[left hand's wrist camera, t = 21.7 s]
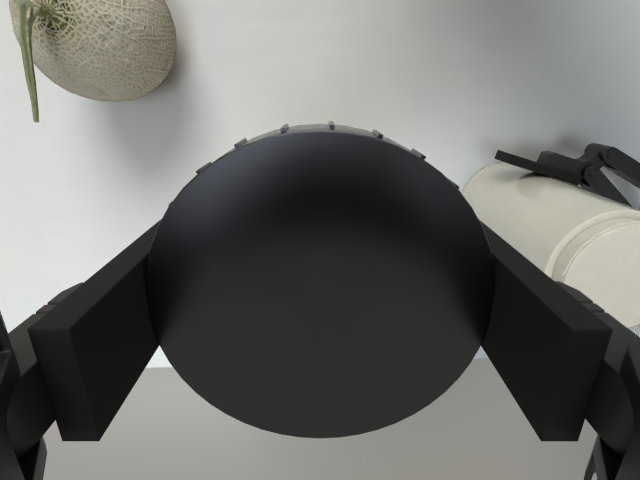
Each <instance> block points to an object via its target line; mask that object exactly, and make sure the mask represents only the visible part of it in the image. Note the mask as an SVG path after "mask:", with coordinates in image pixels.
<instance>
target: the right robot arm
mask: <svg viewBox="0 0 640 480" xmlns="http://www.w3.org/2000/svg"><path fill="white" fill-rule="evenodd" d="M495 159H498V160H500V161H503V162H505V163H508V164H511V165H514V166H517V167H520V168H524V169H527V170H530V171H533V172H536V173H539V174H543V175H546V176H549V177H552V178H555V179H558V180H562V181H565V182H568V183H571V184H574V185H577V186H578V184H580V185H581V186H582V187H583V189H585V190H588V191H590V192H593V193H596V194H598V195H601V196H604V197H606V198H609V199H612V200H614V201H617V202H619V203H622V204H625V205H627V206H630V207H632V206H631V205H630V204H629V202H628V201H627V200H626V199H625V198H624V197H623V196H622V194H621V193H620V192H619V191H618V190H617V189H616V188H615V186H614V185H613V184H612V183H611V182H610V181H609V180H608V178H607V177H606V176H605V175H604V174H603V173H602V172H601V170H600V168H601V167H602V166H604V167H605V168H607V169H609V170H610V171H612V172H614V173H615V174H617V175H618V176H620V177H622V178H623V179H625V180H627V181H628V182H630V183H631V184H633V185H635V186H636V187H638V188H640V163H639V162H637V161H636V160H634V159H633V158H631V157H629V156H628V155H626V154H625V153H623V152H621V151H620V150H618V149H617V148H614V147H610V146H605V145H600V144H595V143H592V144H589V145H588V146H587V147H586V149H585V153H584V154H583V155H582V156H581V157H580V158H578V159H572V158H569V157H566V156H563V155H560V154H557V153H553V152H549V151H544V152H541V154H540V156H539V158H538V160H537V162H534V161H531V160H528V159H525V158H522V157H519V156H515V155H512V154H509V153H506V152H503V151H500V150H498V152H497V154H496V156H495Z"/></svg>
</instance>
